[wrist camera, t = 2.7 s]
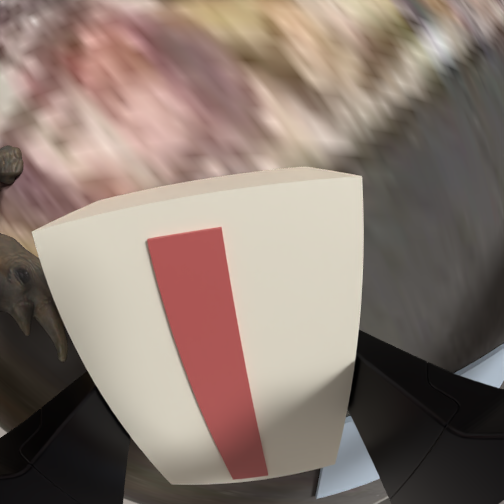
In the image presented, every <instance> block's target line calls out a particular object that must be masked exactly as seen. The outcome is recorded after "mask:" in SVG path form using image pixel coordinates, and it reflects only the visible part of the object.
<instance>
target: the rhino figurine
mask: <svg viewBox="0 0 504 504" xmlns="http://www.w3.org/2000/svg"><path fill="white" fill-rule="evenodd" d="M22 171H23V160H22V154H21V151H20V149H19V148H15V147H12V146H4V147H2V148H1V149H0V181H1V182H3V183H5V184H11V183H13V182H14V180H15V178H16V176H18V175H20V174H21V173H22ZM0 311H3V312H7V313H9V314H10V315H12V317H13V318H14V319H15V320H16V322H17V324H18V325H19V327H20V328H21V330H22V332H23V333H24V334H25V335H26V336H28V335H29V334H30V326H31V320H32V317H34V318H35V319H36V320H37V321H38V322H39V323H40V324H41V326H42V327H43V328H44V329H45V331H46V332H47V333H48V335H49V336H50V338H51V339H52V341H53V343H54V345H55V347H56V350H57V353H58V358H59V360H60V361H61V362H65V361H66V359H67V352H68V345H67V339H66V335H65V331H64V327H63V323H62V319H61V317H60V314H59V311H58V309H57V306H56V304H55V301H54V299H53V296H52V294H51V291H50V288H49V286H48V283H47V280H46V277H45V274H44V271H43V268H42V265H41V262H40V259H39V258H37V257H36V256H35V255H33V254H32V253H30V252H29V251H27V250H26V249H25V248H24V247H23V246H22V245H21V244H20V243H19V242H17V241H16V240H15V239H13V238H12V237H9V236H7V235H4V234H1V233H0Z"/></svg>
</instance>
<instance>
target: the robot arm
mask: <svg viewBox="0 0 504 504" xmlns="http://www.w3.org/2000/svg"><path fill="white" fill-rule="evenodd" d="M348 411H349V413H350V415H351V417H352V419H353V422H354V424H355V426H356V428H357V430H358V432H359V434H360V436H361V438H362V441H363V443H364V445H365V447H366V449H367V451H368V453H369V455H370V458H371V460H372V462H373V464H374V466H375V468H376V471H377V473H378V475H379V477H380V479H381V481H382V484H383V486H384V488H385V490H386V492H387V495H388V497H389V498H390V501H391V504H504V389H500V388H497V387H493V386H490V385H487V384H484V383H481V382H478V381H474V380H471V379H468V378H465V377H463V376H460V375H457V374H454V373H452V372H449V371H447V370H445V369H442V368H440V367H438V366H435V365H433V364H431V363H429V362H428V363H427V362H426V361H424V360H422V359H420V358H418V357H416V356H414V355H411V354H409V353H407V352H405V351H403V350H401V349H399V348H396V347H394V346H392V345H390V344H388V343H386V342H384V341H382V340H380V339H377V338H375V337H373V336H371V335H369V334H367V333H365V332H363V331H361V330H359V332H358V342H357V350H356V358H355V366H354V373H353V379H352V386H351V392H350V398H349V403H348ZM129 443H130V435H129V434H128V432H127V431H126V430H125V428H124V427H123V426H122V424H121V423H120V421H119V420H118V419H117V417H116V416H115V414H114V413H113V411H112V410H111V408H110V407H109V405H108V404H107V402H106V401H105V399H104V397H103V396H102V394H101V393H100V391H99V389H98V388H97V386H96V384H95V383H94V381H93V379H92V378H91V376H90V374H89V372H88V371H87V372H85V373H84V374H83V375H82V376H80V377H79V378H78V379H77V380H75V381H74V382H73V383H72V384H70V385H69V386H68V387H67V388H65V389H64V390H63V391H62V392H60V393H59V394H58V395H57V396H55V397H54V398H53V399H52V400H50V401H49V402H48V403H47V404H45V405H44V406H43V407H42V408H41V409H39V410H38V411H37V412H35V413H34V414H33V415H32V416H30V417H29V418H28V419H27V420H25V421H24V422H23V423H21V424H20V425H18V426H17V427H16V428H14V429H13V430H11V431H10V432H8V433H7V434H5V435H4V436H2V437H1V438H0V504H123V496H124V485H125V475H126V466H127V458H128V450H129Z"/></svg>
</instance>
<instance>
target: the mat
mask: <svg viewBox="0 0 504 504" xmlns="http://www.w3.org/2000/svg"><path fill="white" fill-rule="evenodd" d="M454 374H457V375H460V376H463V377H465V378H468V379H471V380H474V381H478V382H481V383H484V384H487V385H490V386H493V387H497V388H500V386H501V384H502V382H503V381H504V343H503V344H502V345H500V346H499V347H497V348H496V349H494V350H493V351H491V352H489V353H488V354H486V355H485V356H483V357H481V358H480V359H478V360H476V361H475V362H473V363H471V364H470V365H468V366H466V367H464V368H463V369H461V370H459V371H457V372H455V373H454ZM377 479H380V477H379V475H378V473H377V471H376V468H375V466H374V464H373V462H372V460H371V458H370V455H369V453H368V451H367V449H366V447H365V445H364V443H363V441H362V438H361V436H360V434H359V432H358V430H357V428H356V426H355V424H354V422H353V419H352V417H351V416H348V417H346V419H345V424H344V429H343V433H342V438H341V442H340V446H339V450H338V454H337V458H336V462H335V464H334V465H330V466H327V467H323V468H321V469H320V475H319V480H318V485H317V490H316V495H315V496H316V499H318V498H322V497H326V496H329V495H333V494H336V493H340V492H343V491H346V490H349V489H352V488H355V487H358V486H361V485H364V484H367V483H369V482H372V481H375V480H377Z"/></svg>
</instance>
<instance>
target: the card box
mask: <svg viewBox="0 0 504 504" xmlns="http://www.w3.org/2000/svg"><path fill="white" fill-rule="evenodd" d="M32 235H33V238H34V242H35V246H36V249H37V252H38V256H39V259H40V262H41V265H42V268H43V271H44V274H45V277H46V280H47V283H48V286H49V288H50V291H51V294H52V296H53V299H54V301H55V304H56V306H57V309H58V311H59V314H60V316H61V318H62V321H63V323H64V325H65V327H66V329H67V332H68V334H69V336H70V338H71V340H72V342H73V344H74V346H75V348H76V350H77V352H78V354H79V356H80V358H81V360H82V362H83V363H84V365H85V367H86V369H87V371H88V372H89V374H90V376H91V378H92V379H93V381H94V383H95V384H96V386H97V388H98V389H99V391H100V393H101V394H102V396H103V397H104V399H105V401H106V402H107V404H108V405H109V407H110V408H111V410H112V411H113V413H114V414H115V416H116V417H117V419H118V420H119V421H120V423H121V424H122V426H123V427H124V428H125V430H126V431H127V432H128V434H129V435H130V436H131V438H132V439H133V440H134V442H135V443H136V444H137V445H138V447H139V448H140V449H141V450H142V452H143V453H144V454H145V455H146V457H147V458H148V459H149V460H150V461H151V462H152V464H153V465H154V466H155V467H156V468H157V469H158V470H159V472H160V473H161V474H162V475H163V476H164V477H165V478H166V479H167V480H168V481H169V482H170V483H171V484H180V485H200V484H224V483H237V482H247V481H255V480H263V479H269V478H276V477H282V476H287V475H292V474H297V473H302V472H306V471H311V470H315V469H319V468H323V467H327V466H330V465H334V464H335V462H336V458H337V454H338V450H339V446H340V442H341V438H342V433H343V429H344V424H345V419H346V414H347V409H348V403H349V398H350V392H351V386H352V379H353V373H354V366H355V358H356V350H357V342H358V332H359V322H360V310H361V296H362V277H363V189H362V176H358V175H353V174H347V173H342V172H336V171H330V170H324V169H318V168H311V167H294V168H283V169H274V170H265V171H257V172H249V173H241V174H234V175H227V176H220V177H213V178H207V179H201V180H195V181H189V182H183V183H177V184H172V185H167V186H162V187H156V188H151V189H147V190H142V191H137V192H133V193H128V194H124V195H119V196H115V197H111V198H106V199H102V200H99V201H97V202H94V203H92V204H90V205H87V206H85V207H83V208H80V209H78V210H76V211H74V212H71V213H69V214H67V215H65V216H63V217H61V218H59V219H56V220H54V221H52V222H50V223H48V224H46V225H44V226H42V227H40V228H38V229H36V230H34V231H32Z"/></svg>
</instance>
